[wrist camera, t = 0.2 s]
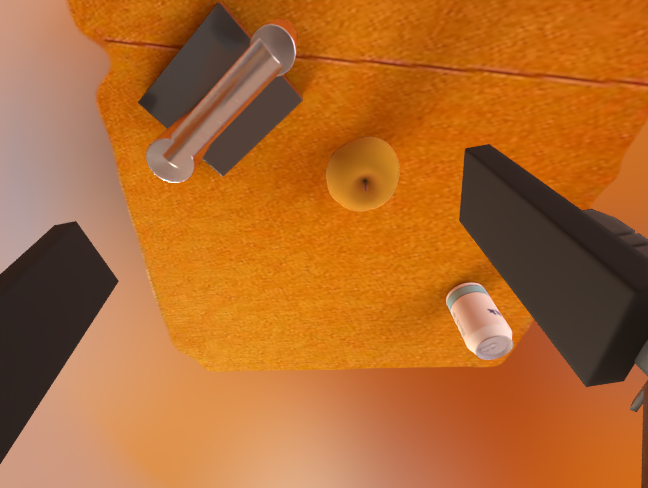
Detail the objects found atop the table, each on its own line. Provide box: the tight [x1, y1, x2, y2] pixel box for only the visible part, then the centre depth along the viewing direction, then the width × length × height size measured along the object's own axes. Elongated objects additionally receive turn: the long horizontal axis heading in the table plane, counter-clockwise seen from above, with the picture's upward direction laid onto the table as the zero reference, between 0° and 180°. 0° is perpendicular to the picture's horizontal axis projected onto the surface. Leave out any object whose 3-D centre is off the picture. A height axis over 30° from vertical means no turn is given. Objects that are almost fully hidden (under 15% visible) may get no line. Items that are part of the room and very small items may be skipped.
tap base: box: [138, 2, 303, 176], centre depth 39 cm, size 14×12×2 cm
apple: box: [326, 137, 400, 212], centre depth 41 cm, size 9×9×9 cm
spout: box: [146, 19, 298, 183], centre depth 29 cm, size 13×3×18 cm, turn 131°
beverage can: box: [446, 282, 513, 360], centre depth 55 cm, size 7×7×12 cm
